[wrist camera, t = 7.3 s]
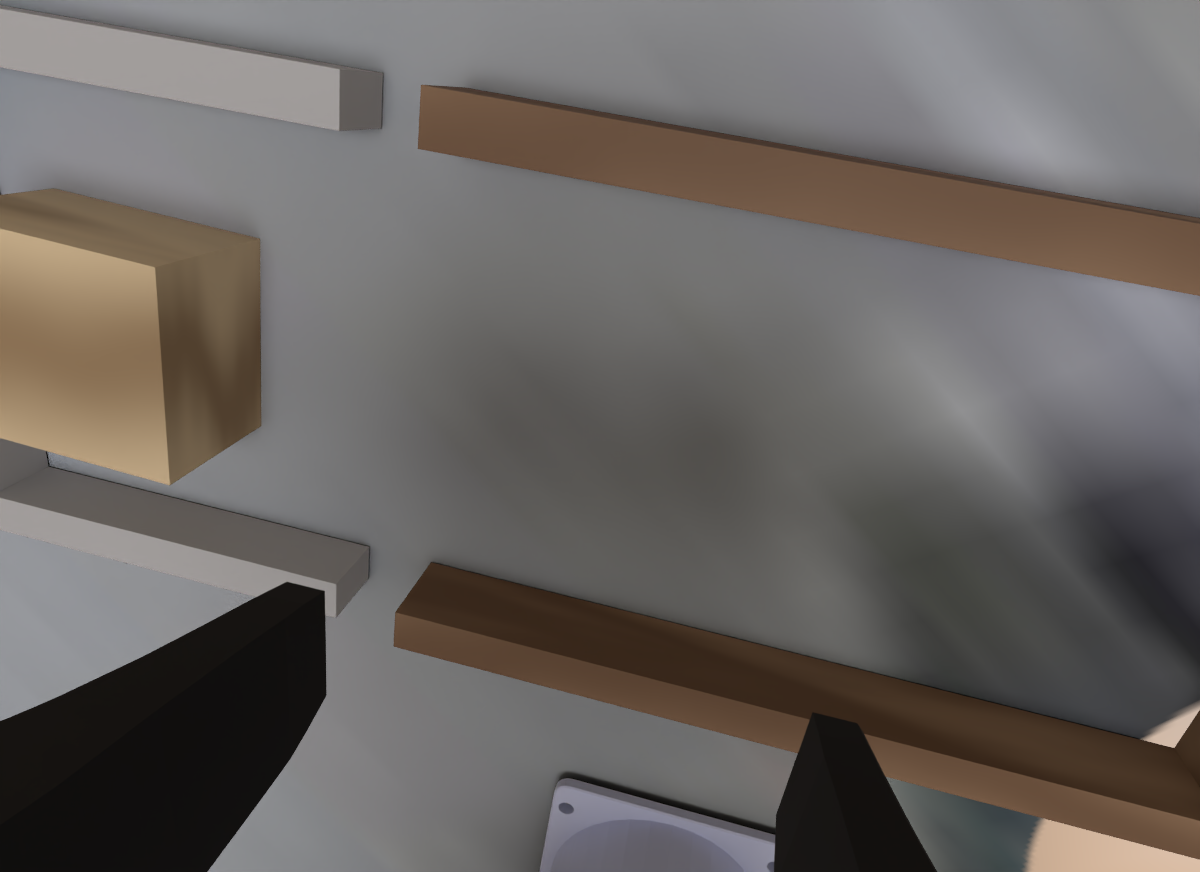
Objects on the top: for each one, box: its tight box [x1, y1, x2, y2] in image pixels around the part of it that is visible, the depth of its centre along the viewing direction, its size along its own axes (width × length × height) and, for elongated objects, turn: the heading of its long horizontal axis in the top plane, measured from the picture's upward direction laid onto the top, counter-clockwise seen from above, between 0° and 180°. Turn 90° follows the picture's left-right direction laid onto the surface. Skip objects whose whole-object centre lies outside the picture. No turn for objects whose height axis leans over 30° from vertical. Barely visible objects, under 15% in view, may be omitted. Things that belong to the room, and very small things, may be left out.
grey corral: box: [0, 5, 383, 618], centre depth 20 cm, size 14×12×2 cm
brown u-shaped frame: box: [394, 85, 1200, 859], centre depth 18 cm, size 14×23×2 cm, turn 81°
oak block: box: [0, 189, 261, 485], centre depth 19 cm, size 6×6×4 cm
